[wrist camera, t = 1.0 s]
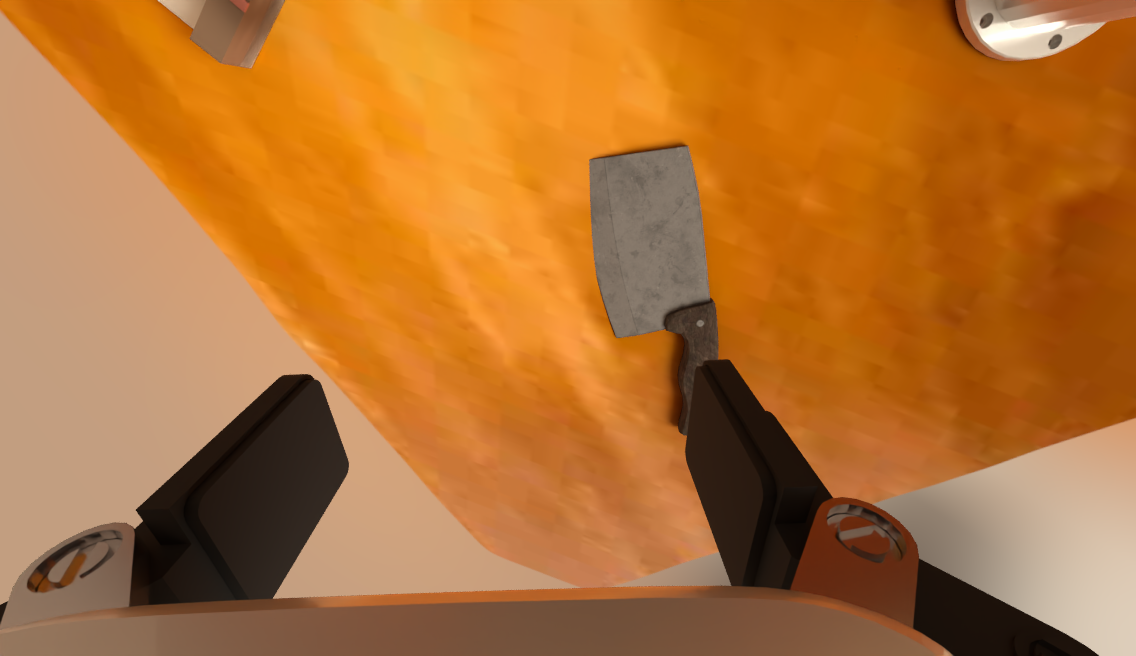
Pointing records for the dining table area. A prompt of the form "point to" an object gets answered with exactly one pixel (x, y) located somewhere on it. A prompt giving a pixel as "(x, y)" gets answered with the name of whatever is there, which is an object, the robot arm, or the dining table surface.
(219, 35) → the fence board
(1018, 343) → the dining table surface
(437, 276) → the dining table surface
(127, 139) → the dining table surface
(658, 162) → the cleaver
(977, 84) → the dining table surface
